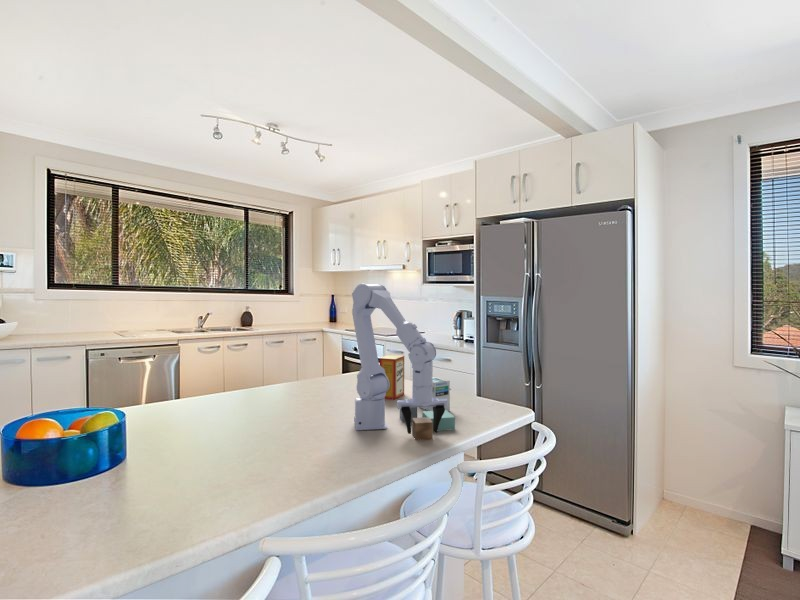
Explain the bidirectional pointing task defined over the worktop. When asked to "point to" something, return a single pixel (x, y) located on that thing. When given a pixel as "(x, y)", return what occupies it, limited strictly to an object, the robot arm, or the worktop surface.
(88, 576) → the worktop surface
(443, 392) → the light bulb box
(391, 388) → the baking soda box
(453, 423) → the teal base block
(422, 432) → the walnut cube
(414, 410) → the slate cube
